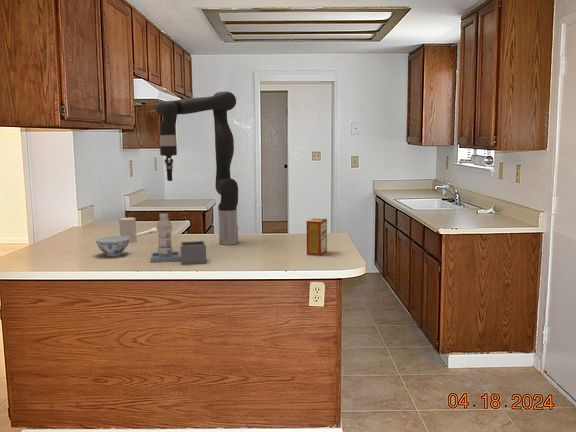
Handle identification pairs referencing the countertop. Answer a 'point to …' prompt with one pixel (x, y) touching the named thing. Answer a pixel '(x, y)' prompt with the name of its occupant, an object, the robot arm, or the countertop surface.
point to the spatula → (147, 232)
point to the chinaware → (112, 244)
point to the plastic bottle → (164, 236)
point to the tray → (165, 258)
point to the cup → (128, 228)
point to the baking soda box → (316, 236)
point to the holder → (193, 252)
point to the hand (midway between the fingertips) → (169, 180)
